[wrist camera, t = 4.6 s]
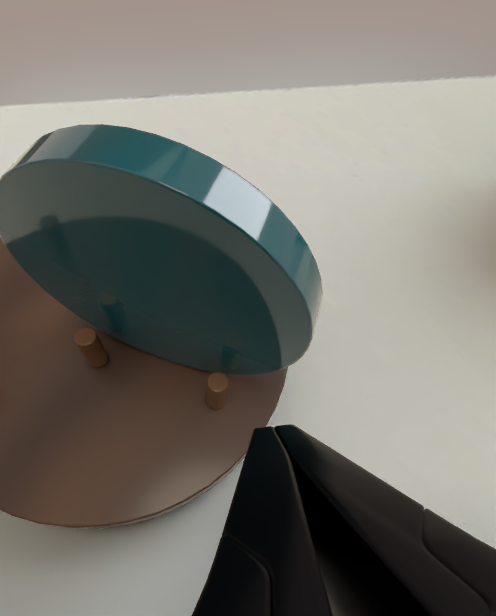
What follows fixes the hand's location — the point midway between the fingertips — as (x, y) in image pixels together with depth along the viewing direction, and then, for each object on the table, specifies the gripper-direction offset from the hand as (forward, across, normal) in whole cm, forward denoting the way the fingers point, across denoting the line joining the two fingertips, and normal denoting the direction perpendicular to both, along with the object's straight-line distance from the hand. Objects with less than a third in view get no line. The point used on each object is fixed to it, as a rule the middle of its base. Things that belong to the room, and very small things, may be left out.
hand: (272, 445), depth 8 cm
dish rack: (+9, +4, +1) cm, 10 cm away
